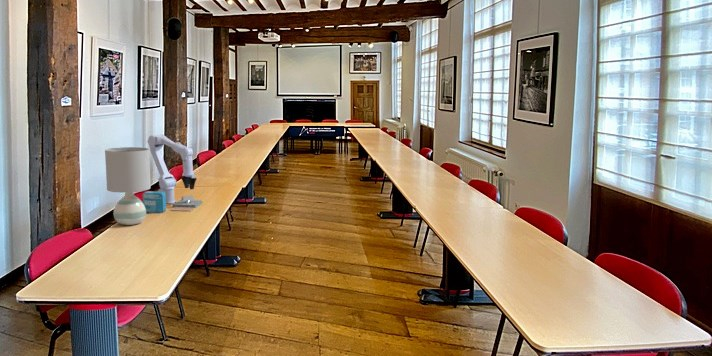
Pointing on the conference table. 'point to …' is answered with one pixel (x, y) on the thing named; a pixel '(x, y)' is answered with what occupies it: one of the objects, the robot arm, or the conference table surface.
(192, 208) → the tile
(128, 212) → the lamp
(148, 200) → the blue box
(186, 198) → the t key
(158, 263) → the conference table surface
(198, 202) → the cover plate
